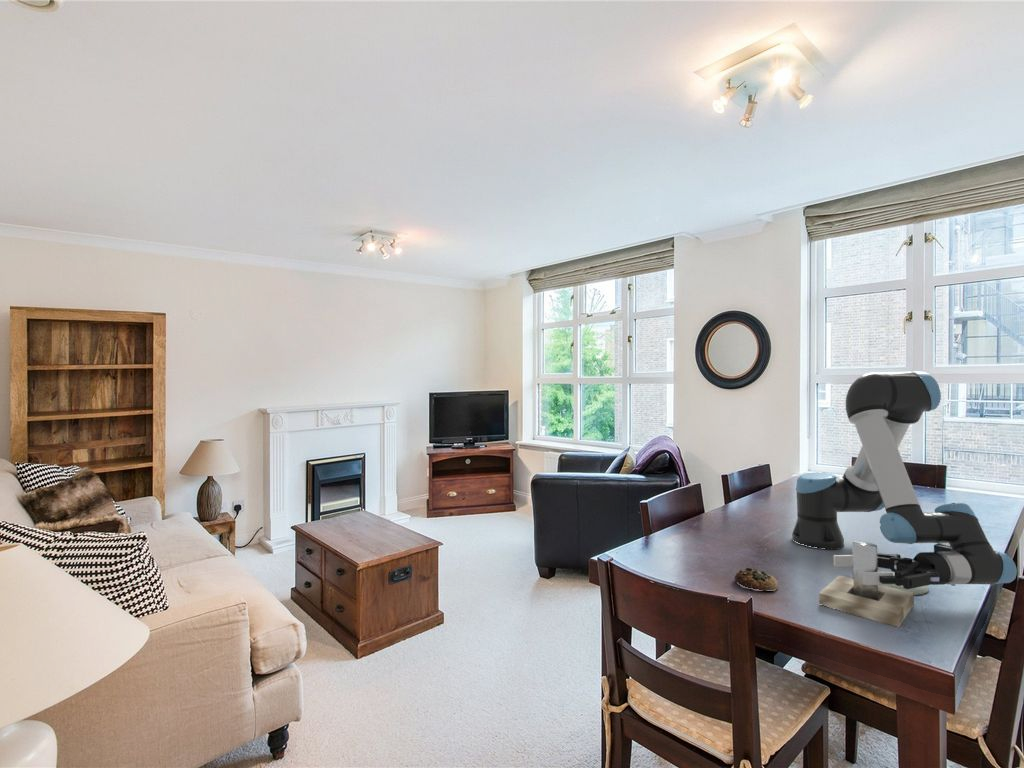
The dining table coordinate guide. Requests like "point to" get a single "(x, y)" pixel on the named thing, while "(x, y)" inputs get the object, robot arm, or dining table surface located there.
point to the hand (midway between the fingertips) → (848, 569)
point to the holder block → (868, 601)
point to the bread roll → (756, 579)
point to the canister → (864, 568)
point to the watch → (942, 547)
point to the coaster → (916, 590)
